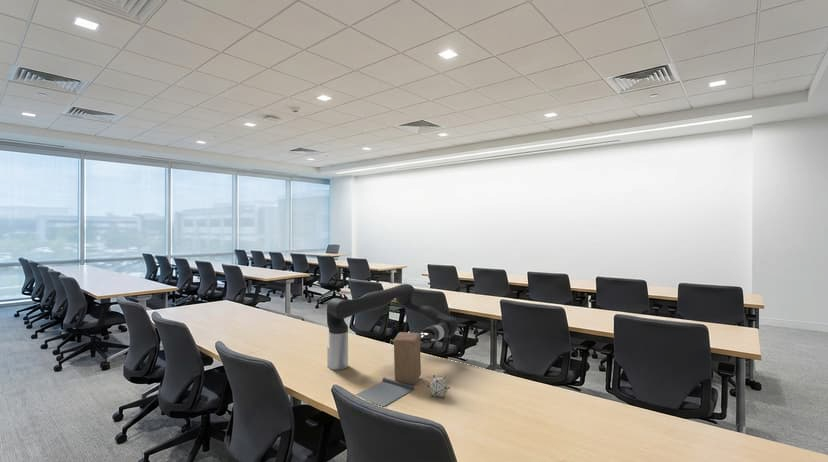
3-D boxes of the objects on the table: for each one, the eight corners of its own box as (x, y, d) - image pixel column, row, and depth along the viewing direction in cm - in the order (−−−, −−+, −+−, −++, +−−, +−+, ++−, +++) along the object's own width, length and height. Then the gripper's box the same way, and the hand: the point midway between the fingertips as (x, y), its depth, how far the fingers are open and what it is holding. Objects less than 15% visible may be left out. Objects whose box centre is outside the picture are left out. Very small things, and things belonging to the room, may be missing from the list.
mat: (352, 396, 154) (352, 393, 154) (384, 381, 170) (384, 377, 170) (383, 407, 145) (383, 403, 145) (414, 389, 161) (414, 386, 161)
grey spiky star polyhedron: (442, 404, 155) (457, 383, 156) (437, 405, 148) (452, 383, 149) (425, 389, 159) (439, 369, 160) (419, 389, 152) (434, 368, 153)
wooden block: (416, 385, 165) (415, 340, 163) (394, 383, 167) (393, 339, 165) (421, 374, 175) (420, 332, 173) (400, 373, 177) (398, 331, 175)
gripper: (422, 324, 192) (401, 331, 178) (445, 328, 185) (425, 335, 170) (422, 339, 192) (401, 347, 178) (445, 343, 185) (425, 352, 170)
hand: (413, 341), depth 174 cm, fingers closed
